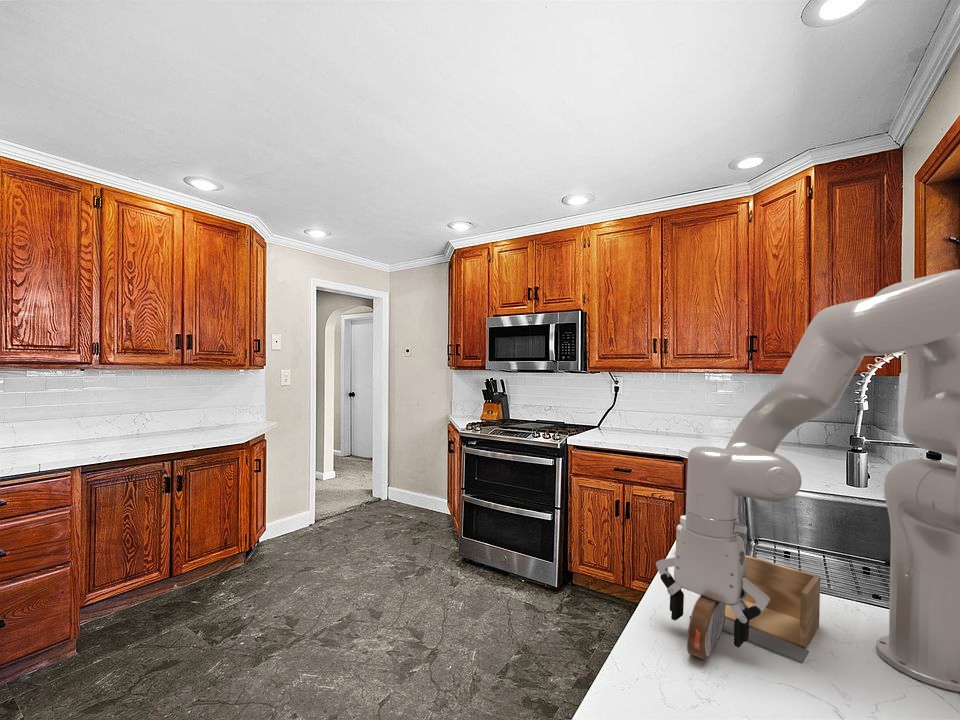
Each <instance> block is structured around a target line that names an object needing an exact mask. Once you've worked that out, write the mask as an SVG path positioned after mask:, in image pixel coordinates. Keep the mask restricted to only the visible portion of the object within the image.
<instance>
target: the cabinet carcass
mask: <svg viewBox="0 0 960 720" xmlns="http://www.w3.org/2000/svg"><path fill="white" fill-rule="evenodd" d="M745 557H746V568H747V580H749V581H750V582H751V583H752V584H754V585H755V586H756V587H757V588H758V589H760V590H761V591H762V592H763V593H765V594H766V595H767V596H768V597H769V598H770V602H769V604H768V605H767V606H766V607H765V609H764V610H763V611H762V612H761V614H760V615H759V616H757V617H755V618H753V619H751V620H749V628H752V629H754V630H757V631H759V632H762V633H765V634H767V635H770V636H772V637H775V638H778V639H780V640H783V641H785V642H788V643H791V644H793V645H796V646H798V647H801V648H804V649H806V650H808V649H807V648H808V647H809V645H810V643H811V642H812V640H813V638H814V637H815V636H816V634H817V632H818V631H819V628H820V605H821V603H820V602H821V576H820V575H817V574H813V573H809V572H806V571H802V570H799V569H795V568H792V567H790V566H789V567H788V566H785V565H781V564H778V563H775V562H771V561H767V560H764V559H761V558H757V557H753V556H750V555H746V554H745ZM743 599H744V601H745V602H746V604H747V605H748V607H749V608H750V607H752V606H753V605H754V604H755V603H756V601H755V599H754V598H753V597H752V596H751V595H749V594H748V593H747V595H746V597H745V598H743ZM725 618H726V619H728V620H731V621H735V620H736V619H737V616H736V614H735V613H734V611H733V610H732V608H731V607H730V605H727V604H726V607H725Z"/></svg>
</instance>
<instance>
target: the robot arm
mask: <svg viewBox="0 0 960 720" xmlns="http://www.w3.org/2000/svg"><path fill="white" fill-rule="evenodd" d="M903 351H904V353H905V355H906V359H907V378H906V379H907V380H906V386H905V387H906V389H905V398H904V407H903V415H902V416H903V417H902V429H903V431H902V432H903V434H904V435H905V437H906V439H907V440H908V441H909V442H910V443H911V444H913V445H915V446H916V447H918V448H920V449H924V450H926V451H930V452H934V453H938V454H943V455H948V456H952V457H957V458H956V465H955V464H951V463H946V462H944V461H943V462H942V461H938V460H933V459H923V458H920V459H919V458H916V459H915V458H913V459H906V460H903V461H901V462H898V463H896V464H895V465H894V466H892V467H891V468H890V470H889V471H888V472H887V473H886V475H885V479H884V483H883V493H884V500H885V504H886V508H887V513H888V519H889V526H890V529H889V530H890V563H889V564H890V565H889V566H890V567H889V568H890V569H889V612H888V613H889V616H888V618H889V619H888V622H889V623H888V624H889V625H888V635H885V636H882V637H878V639H876V643H875V648H876V652H877V654H878V655H879V656H880V657H881V658H882V659H883V660H884V661H885V662H886V663H887V664H888V665H891V666H892V667H893V668H895V669H896V670H898V671H900V672H902V673H904V674H906V675H907V676H910V677H912V678H913V679H916V680H919V681H920V682H922V683H926V684H929V685H931V686H934V687H937V688H940V689H944V690H948V691H952V692H958V693H960V269H953V270H947V271H943V272H939V273H936V274H930V275H926V276H921V277H917V278H913V279H908V280H904V281H899V282H896V283H894V284H891V285H889V286H886V287H884V288H882V289H880V290H879V291H878V292H877V293H876V294H875V295H874V296H870V297H866V298H861V299H858V300H851V301H848V302H843V303H838V304H835V305H831V306H829V307H825V308H823V309H822V310H820V311H819V312H818V313H817V314H816V315H815V316H814V317H813V318H812V320H811V321H810V323H809V325H808V326H807V329H805V332H804V333H803V335H802V337H801V338H800V341H799V342H798V345H797V347H795V350H794V352H793V353H792V355H791V358H790V359H789V361H788V363H787V365H786V366H785V368H784V369H783V371H782V374H781V375H780V377H779V379H778V380H777V382H776V383H775V385H774V386H773V387H772V388H771V389H770V390H769V391H768V392H766V393H765V394H764V395H763V396H762V398H760V400H759V401H757V403H755V404H754V405H753V407H752V408H751V409H749V411H748V412H746V414H745V415H744V417H743V418H742V419H741V420H740V421H739V423H738V425H737V427H736V428H735V430H734V432H733V434H732V435H731V438H730V440H729V441H728V443H727V444H726V447H725V448H722V447H718V446H717V447H715V446H695V447H692V448H691V449H690V450H689V452H688V454H687V471H686V474H687V475H686V476H687V477H686V499H685V500H686V501H685V515H686V523H685V525H684V526H682V528H681V531H680V535H679V539H678V544H677V549H676V548H675V556H674V557H669V558H663V559H659V560H658V561H656V562H655V566H656V570H657V571H658V573H659V575H660V580H661V581H662V583H663V584H664V586H665V587H666V590H667V593H668V595H669V611H670V612H671V620H672V621H674V622H675V621H678V620H679V619H680V618H682V617H683V616H684V605H685V604H684V603H685V593H684V591H683V590H682V589H684V590H687V591H689V592H691V593H695V594H697V595H699V596H701V595H702V596H705V597H707V598H710V599H713V600H715V601H718V602H721V603H724V604H727V605H730V607H731V608H732V610H733V611H734V613H735V614H736V616H737V619H736V620H735V621H734V636H733V645H734V647H735V648H739V649H740V647H742V645H743V644H744V643H748V642H747V641H748V638H749V620H751V619H753V618H755V617H757V616H759V615H760V614H761V612H762V611H763V610H764V609H765V607H766V606H767V605H768V604H769V602H770V598H769V597H768V596H767V595H766V594H765V593H763V592H762V591H761V590H760V589H758V588H757V587H756V586H755V585H754V584H752V583H751V582H750V581H749V580H747V568H746V557H745V555H746V550H745V545H744V544H745V543H744V540H743V538H742V537H741V536H740V535H747V533H748V527H747V525H744V524H743V523H740V521H739V520H740V518H739V517H738V513H739V512H738V507H739V497H745V498H750V499H754V500H758V501H763V502H768V503H769V502H770V503H781V502H785V501H789V500H791V499H792V498H794V497H795V496H796V495H797V494H798V493H799V491H800V489H801V488H802V487H801V486H802V475H801V472H800V470H799V469H798V467H797V466H796V465H795V464H794V463H793V462H792V461H791V460H789V459H788V458H787V457H785V456H782V455H780V454H778V453H775V452H776V451H777V448H778V447H779V446H780V444H781V443H782V441H783V440H784V439H785V438H786V437H787V436H788V435H789V433H791V432H792V431H793V430H795V429H796V428H797V427H799V426H801V425H803V424H805V423H807V422H809V421H812V420H814V419H817V418H820V417H822V416H824V415H826V414H828V413H830V412H831V411H833V410H834V409H835V408H836V407H837V406H838V404H839V402H840V400H841V398H842V397H843V395H844V393H845V391H846V389H847V388H848V386H849V384H850V382H851V380H852V379H853V377H854V375H855V373H856V371H857V370H858V368H859V366H860V365H861V363H862V360H863V359H864V357H873V356H874V357H875V356H876V357H877V356H885V355H886V356H887V355H891V354H896V353H900V352H903ZM673 567H674V570H673V576H672V574H671V573H670V572H669V568H673ZM747 593H748V594H749V595H751V596H752V597H753V598H754V599H755V601H756V603H755V604H754V605H753V606H752V607H750V608H749V607H748V605H747V604H746V602H745V601H744V599H743V598H745V597H746V595H747Z"/></svg>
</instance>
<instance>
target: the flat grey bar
mask: <svg viewBox="0 0 960 720" xmlns="http://www.w3.org/2000/svg"><path fill="white" fill-rule="evenodd" d="M690 618H691V615H689V619H690ZM722 633H725V634H727V635H730V636H733V637H734V621H731V620H728V619H726V618H725V622H724V627H723V631H722ZM746 643H750V644H752V645H755V646H758V647H760V648H762V649H764V650H767V651H769V652H771V653H775V654H777V655H779V656H782V657H784V658H787V659H789V660H791V661H794V662H796V663H799V664H803V663H804V661H805V660H806V658H807V656H808V655H809V652H810V651H809V650H808V649H804V648H801V647H798V646H796V645H793V644H791V643H788V642H785V641H783V640H780V639H778V638H775V637H772V636H770V635H767V634H765V633H762V632H759V631H757V630H754V629H752V628H749V638H748V641H747V642H746Z"/></svg>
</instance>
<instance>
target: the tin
mask: <svg viewBox="0 0 960 720" xmlns="http://www.w3.org/2000/svg"><path fill="white" fill-rule="evenodd" d="M725 607H726V604H724V603H721V602H718V601H715V600H713V599H710V598H707V597H705V596H702V595H699V597H698V598H697V600H696V601H695V603H694V606H693V609H692V612H691V615H690V616H691V618H690V617H689V625H688V629H687V630H688V631H687V637H686V649H687V653H688V655H692V656H696V657H697V658H700V659H702V660H703V661H705V660H708V659H709V658H710V656H711V655H712V654H713V651H714V650H715V648H716V646H717V645H718V643H719V641H720V639H721V636H722V633H723V627H724V622H725Z"/></svg>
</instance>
